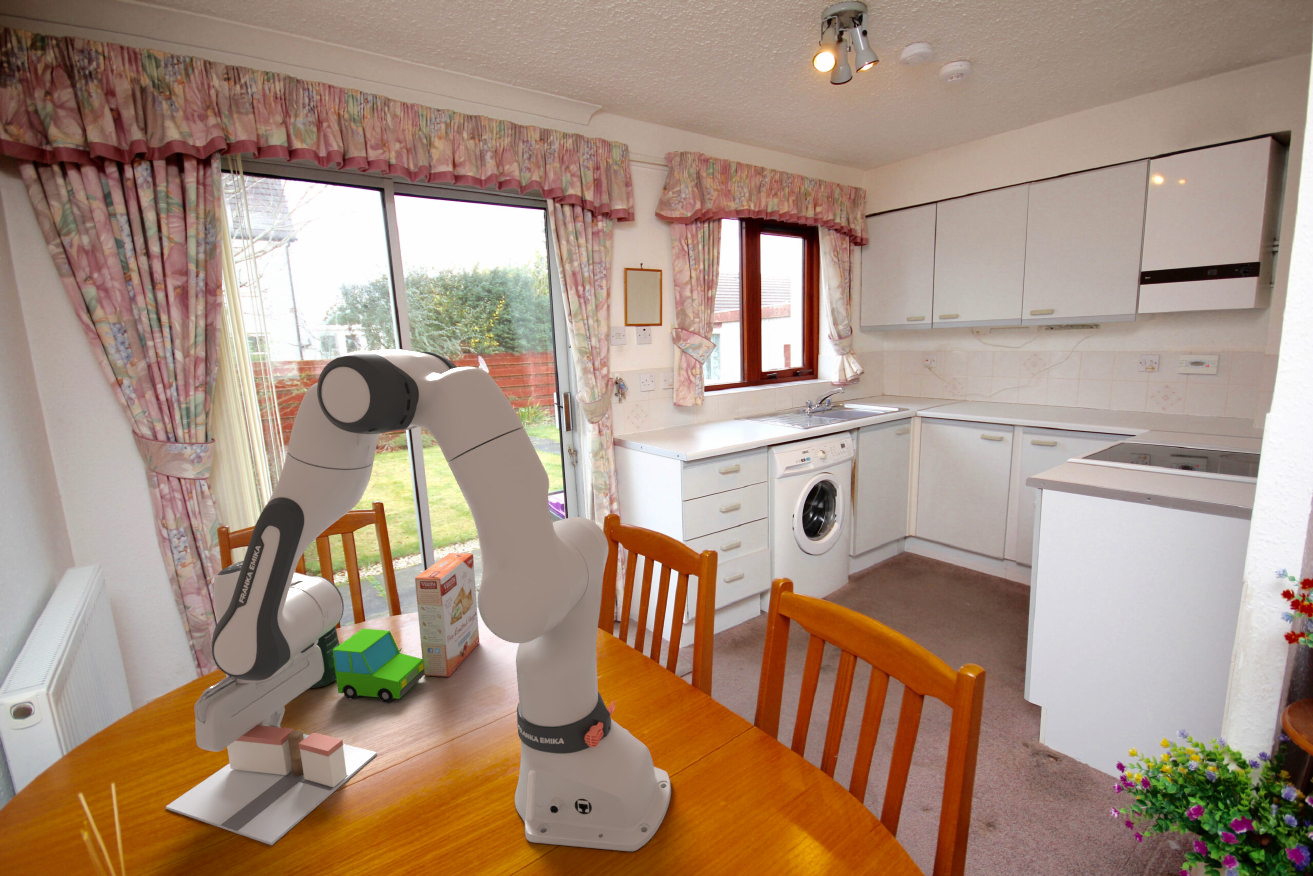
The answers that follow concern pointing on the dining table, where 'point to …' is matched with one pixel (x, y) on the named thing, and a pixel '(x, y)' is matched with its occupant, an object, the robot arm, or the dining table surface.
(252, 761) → the folding fence panel
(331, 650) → the coffee jar
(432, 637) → the cracker box
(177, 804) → the card
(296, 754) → the hinge post
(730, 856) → the dining table surface
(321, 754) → the fixed fence panel
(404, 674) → the toy car
